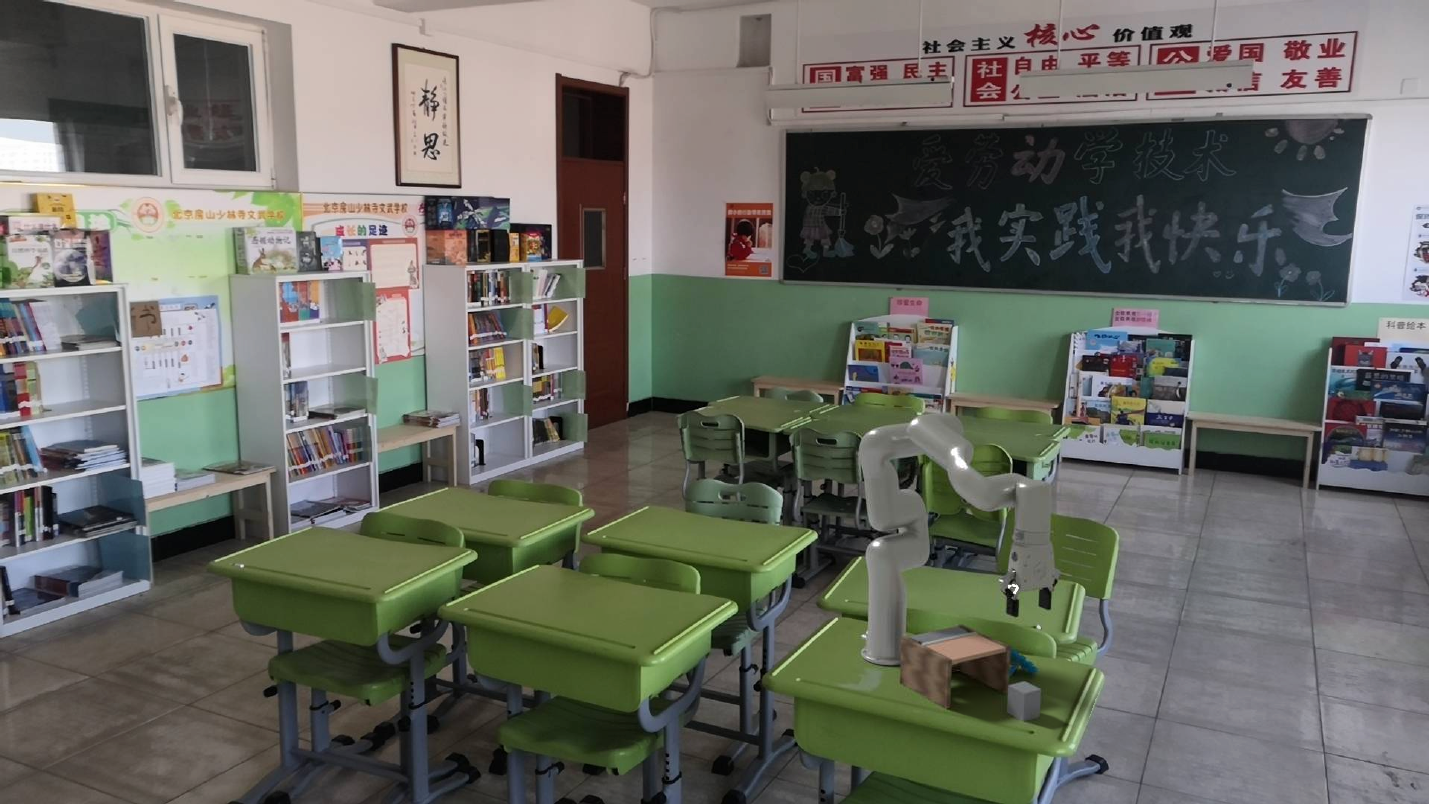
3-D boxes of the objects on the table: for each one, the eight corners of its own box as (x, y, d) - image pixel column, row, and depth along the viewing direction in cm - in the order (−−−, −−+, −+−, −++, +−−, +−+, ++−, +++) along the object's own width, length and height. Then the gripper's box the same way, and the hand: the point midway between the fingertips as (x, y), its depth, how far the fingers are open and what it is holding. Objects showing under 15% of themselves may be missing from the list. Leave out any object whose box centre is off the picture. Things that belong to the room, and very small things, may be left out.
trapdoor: (906, 650, 253) (907, 635, 252) (958, 639, 260) (958, 624, 260) (952, 674, 238) (953, 658, 238) (1005, 661, 246) (1006, 645, 245)
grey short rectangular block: (1006, 712, 237) (1008, 685, 236) (1023, 708, 240) (1024, 681, 239) (1023, 721, 233) (1024, 693, 232) (1039, 716, 235) (1041, 689, 235)
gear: (1047, 674, 255) (1020, 648, 253) (1033, 693, 254) (1006, 667, 252) (1020, 663, 266) (994, 638, 263) (1006, 682, 264) (981, 657, 262)
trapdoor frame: (899, 683, 254) (901, 637, 252) (960, 668, 262) (961, 624, 261) (946, 709, 239) (948, 660, 237) (1008, 693, 248) (1010, 646, 246)
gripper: (1014, 545, 223) (1011, 623, 226) (1073, 535, 231) (1069, 610, 234) (989, 537, 230) (987, 613, 232) (1047, 527, 238) (1044, 601, 240)
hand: (1028, 611), depth 233 cm, fingers open, 9 cm apart
